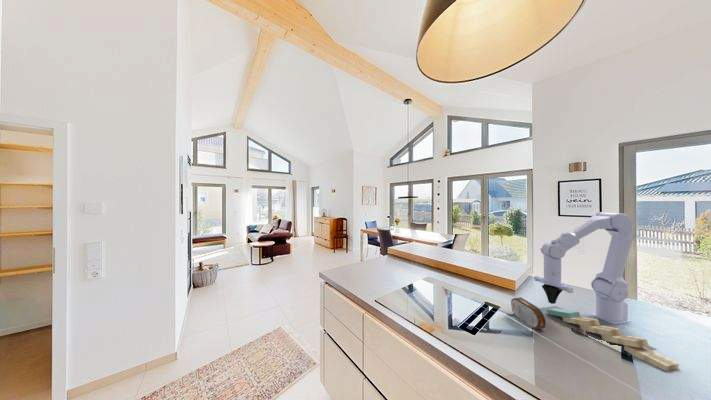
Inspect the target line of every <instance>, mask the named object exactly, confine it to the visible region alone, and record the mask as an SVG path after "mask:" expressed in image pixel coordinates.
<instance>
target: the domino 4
mask: <svg viewBox="0 0 711 400" xmlns="http://www.w3.org/2000/svg"><path fill="white" fill-rule="evenodd" d="M601 336H602V339H603V341H608V342H613V343H617V344H622V345H627V346H632V347H637V348H638V347H644V346H650V344H649V343H648V339H647V338H643V337H642V338H641V337H637V336H636V337H635V336H632V335H625V334H623V335H617V336H612V337H611V336H606V335H601Z"/></svg>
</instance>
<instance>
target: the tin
mask: <svg viewBox="0 0 711 400" xmlns="http://www.w3.org/2000/svg"><path fill="white" fill-rule="evenodd" d="M510 303H511V304H510V306H511V310H512V313H513V314H514V316H515V317H516V318H518V319H520V320H521V321H522V322H524V323H525V324H527V325H528V326H530V328H532V329H534V330H544V329H545V327H546V324H547V322H546V318H545V317H546V316H544V315H543V313H542V312H541V310H540V309H539V308H540V307H538V306H536V305H535V304H533V303H531V302H529V301H528V300H526V299H524V298H523V297H520V296H519V297H514V298H512V299H511V301H510Z"/></svg>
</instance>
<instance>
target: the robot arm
mask: <svg viewBox="0 0 711 400" xmlns="http://www.w3.org/2000/svg"><path fill="white" fill-rule="evenodd" d="M633 225H634V220H633V218H631V216H629V215H628V214H626V213H622V212H619V213H618V212H617V213H616V212H605V211H600V212H597V213H596V214H595V215H591V217H590V218H589V219H588V220H587V221H586V222H585V223H583V224H582V225H580V226H579V227H577V228H576V229H575V230H573V232H562V233H561V234H560V236H558V237H556V238H555V239H552V240H551V241H550V242H546V243H543V244H542V246H541V248H540V252H541V253H542V255H543V277H542V276H539V275H534V276H533V281H535V282H539V283H542V285H541V288H542V289H543V291H544V293H545V295H546V298H547V302H548V303H549V304H552V305H553V304H554V305H555V304H556V303H557V300H558V298H559V295H560V294H561V293H562V292H563V291H564V292H566V293H568V294H573V293H574V287H571V286H569V285H567V284H565V283H563V282H562V258H564V257H565V255H566V254H567V252H568V251H569V250H571V249H572V248H574V247H575V246H577V245H579V244H580V240H581V239H583V238H584V237H586V236H589V235H590V234H592V233H594V232H596V231H597V230H605V231H606V232H607V233H608V234H609V235H610V236H611V238H610V243H609V246H608V251H607V254H606V256H605V261H604V264H603V268H602V271H601V272H598V273H596V275H595V277H594V278H593V279H592V281H591V282H590V286H591V288H592V290H593V291H594V293H595V312H592V313H590V315H591V316H593V317H595V318H598V319H600V320H602V321H605V322H607V323H609V324H613V325H618V324H624V323H630V322H632V321H631V320H630V319H628V313H629V312H628V311H629V310H628V309H629V308H628V307H629V305H628V302H627V301H626V299H627V298H628V297H629V292H628V291H629V290H628V285H629V284H628V283H627V281H626V280H625V279H624V278H623V275H624V272H625V267H626V264H627V261H628V257H629V253H630V250H631V246H632V242H633V238H634V231H633Z"/></svg>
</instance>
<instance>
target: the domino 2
mask: <svg viewBox="0 0 711 400" xmlns="http://www.w3.org/2000/svg"><path fill="white" fill-rule="evenodd" d="M562 318H563V322H568V323H573V324H578V325H583V326H588V327H591V326H597V325H601V324H600V321H599V319H596V318H591V317H584V316H581V317H576V318H567V317H562Z"/></svg>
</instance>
